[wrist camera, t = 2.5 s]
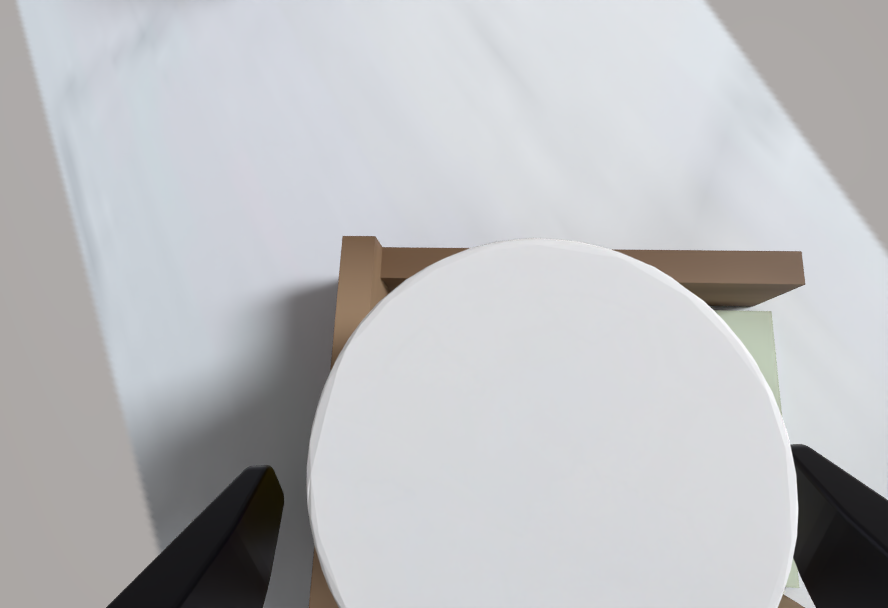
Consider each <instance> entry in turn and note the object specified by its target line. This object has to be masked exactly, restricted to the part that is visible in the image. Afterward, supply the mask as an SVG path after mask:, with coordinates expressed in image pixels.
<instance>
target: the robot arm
mask: <svg viewBox="0 0 888 608" xmlns="http://www.w3.org/2000/svg"><path fill="white" fill-rule="evenodd" d="M790 446H791V451H792V456H793V461H794V466H795V471H796V480H797V496H798V526H797V539H796V544H795V550H794V555H793V559H794V562H795V564H796V566H797V569H798V571H799V574H800V576H801V578H802V580H803V582H804V584H805V587H806V589H807V591H808V593H809V595H810V597H811V599H812V601H813V603H814V605H815V607H816V608H888V500H887V499H885V498H884V497H882V496H881V495H879V494H878V493H876V492H875V491H874V490H872V489H871V488H869V487H868V486H866V485H865V484H863V483H862V482H860V481H859V480H857V479H856V478H854V477H853V476H851V475H850V474H848V473H847V472H845V471H844V470H843V469H841V468H840V467H838V466H837V465H835V464H834V463H832V462H831V461H829V460H828V459H826V458H825V457H823V456H822V455H820V454H819V453H817V452H816V451H814V450H813V449H811V448H810V447H808V446H806V445H802V444H790ZM283 506H284V494H283V491H282V488H281V486H280V484H279V481H278V479H277V477H276V474H275V472H274V470H273V468H272V467H271V466H269V465H259V466H250V467H248V468H246V469H245V470H244V471H243V472H242V473H241V474H240V475H239V476H238V477H237V478H236V479H235V480H234V481H233V482H232V483H231V484H230V485H229V486H228V487H227V488H226V489H225V490H224V491H223V492H222V493H221V494H220V495H219V496H218V497H217V498H216V499H215V500H214V501H213V502H212V503H211V504H210V505H209V506H208V507H207V508H206V509H205V510H204V511H203V512H202V513H201V514H200V515H199V516H198V517H197V518H196V519H195V520H194V521H193V522H192V523H191V524H190V525H189V526H188V527H187V528H186V529H185V530H184V531H183V532H182V533H181V534H180V535H179V536H178V537H177V538H176V539H175V540H174V541H173V542H172V543H171V544H170V545H169V546H168V547H167V548H166V549H165V550H164V551H163V552H162V553H161V554H160V555H158V556H157V557H156V558H155V559H154V560H153V561H152V563H151V564H149V565H148V566H147V567H146V568H145V569H144V571H142V572H141V574H139V575H138V576H137V577H136V578H135V579H134V581H132V583H130V584H129V585H128V586H127V588H125V589H124V590H123V591H122V592H121V593H120V594H119V595H118V596H117V597H116V598H115V599H114V600H113V601H112V602H111V603H110V604H109V605H108V606H107V607H106V608H263V604H264V601H265V597H266V593H267V589H268V585H269V580H270V576H271V571H272V565H273V560H274V554H275V549H276V544H277V538H278V533H279V528H280V522H281V517H282V512H283Z"/></svg>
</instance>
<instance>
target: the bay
mask: <svg viewBox="0 0 888 608" xmlns="http://www.w3.org/2000/svg"><path fill="white" fill-rule="evenodd" d="M467 249H469V248H397V247H382V246H381V244H380V243H379V241H378V240H377V238H376V237H375V236H343V238H342V249H341V260H340V271H339V282H338V293H337V304H336V315H335V326H334V337H333V348H332V359H331V370H332V368H333V366H334V364H335V361H336V359H337V357H338V355H339V354H340V352H341V351H342V349H343V347H344V346H345V344H346V342H347V341H348V339H349V337H350V336H351V335H352V333H353V332H354V331H355V329H356V328H357V326H358V325H359V324H360V322H361V321H362V320H363V319H364V318H365V317H366V315H367V314H368V313H369V312H370V311H371V310H372V309H373V308H374V307H375V306H376V304H377V303H378V302H379V301H381V300H382V299H383V298H384V297H385V296H387V295H388V294H389V293H390V292H391V291H393V290H394V289H395V288H396V287H398V286H399V285H400V284H401V283H402V282H404V281H405V280H406V279H408V278H410V277H411V276H413V275H414V274H416V273H418V272H419V271H421V270H423V269H424V268H426V267H428V266H430V265H432V264H434V263H436V262H438V261H440V260H442V259H444V258H447V257H449V256H452V255H454V254H457V253H459V252H462V251H464V250H467ZM614 251H617V252H620V253H622V254H625V255H627V256H630V257H632V258H634V259H637V260H639V261H641V262H644V263H646V264H648V265H651V266H653V267H655V268H657V269H658V270H660V271H662V272H663V273H665V274H667V275H668V276H670V277H672V278H673V279H674V280H676V281H677V282H678V283H679V284H681V285H682V286H683V287H685V288H686V289H687V290H689V291H690V292H692V293H693V294H695V295H696V296H697V297H699V298H700V299H702V300H703V301H704V302H705V303H706V304H707V305H708V306H746V307H753V306H755V305H757V304H760V303H762V302H765V301H767V300H769V299H772V298H774V297H777V296H779V295H781V294H784V293H786V292H789V291H791V290H793V289H796V288H798V287H801V286H803V285H805V278H804V269H803V261H802V252H801V251H701V250H614ZM714 311H715V312H716V313H717V314H718V315H719V316H720V317H721V318H722V319H723V320H724V321H725V323H726V324H727V325H728V326H729V327H730V328H731V330H732V331H733V332H734V333H735V334H736V336H737V337H738V338H739V339H740V340H741V342H742V343H743V344H744V346H745V347H746V348H747V350H748V351H749V353H750V354H751V355H752V357H753V358H754V360H755V361H756V363H757V365H758V367H759V369H760V371H761V373H762V374H763V376H764V378H765V380H766V382H767V383H768V385H769V387H770V389H771V391H772V392H773V395H774V397H775V400H776V403H777V405H778V408H779V411H780V413H781V416H782V411H781V401H780V392H779V382H778V372H777V362H776V352H775V342H774V332H773V322H772V313H771V311H728V310H714ZM331 370H330V372H331ZM785 587H792V588H799V579H798V569H797V566H796V564H795V562H794V559H793V560H792V566H791V571H790V574H789V577H788V580H787V583H786V586H785ZM309 608H339V607H338V605H337V603H336V601H335V599H334V597H333V595H332V593H331V591H330V589H329V587H328V584H327V582H326V579H325V577H324V574H323V571H322V569H321V565H320V562H319V558H318V555H317V552H316V548H315V545H314V556H313V567H312V578H311V589H310V600H309ZM778 608H805V607H803V606H801V605H800V604H798V603H797V602H795V601H793V600H792V599H790V598H788V597H787V596H785V595H784V594H783V595H782V598H781V601H780V603H779V606H778Z"/></svg>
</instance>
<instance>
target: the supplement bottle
mask: <svg viewBox="0 0 888 608" xmlns="http://www.w3.org/2000/svg"><path fill="white" fill-rule="evenodd" d="M306 490H307V506H308V514H309V520H310V526H311V531H312V535H313V540H314V545H315V548H316V552H317V555H318V558H319V562H320V565H321V569H322V571H323V574H324V577H325V579H326V582H327V584H328V587H329V589H330V591H331V593H332V595H333V597H334V599H335V601H336V603H337V605H338V607H339V608H778V606H779V603H780V601H781V598H782V595H783V592H784V589H785V586H786V583H787V580H788V577H789V574H790V571H791V566H792V560H793V555H794V550H795V544H796V539H797V526H798V496H797V480H796V471H795V466H794V461H793V456H792V451H791V446H790V441H789V436H788V433H787V430H786V427H785V424H784V422H783V419H782V416H781V413H780V411H779V408H778V405H777V403H776V400H775V397H774V395H773V392H772V391H771V389H770V387H769V385H768V383H767V382H766V380H765V378H764V376H763V374H762V373H761V371H760V369H759V367H758V365H757V363H756V361H755V360H754V358H753V357H752V355H751V354H750V353H749V351H748V350H747V348H746V347H745V346H744V344H743V343H742V342H741V340H740V339H739V338H738V337H737V336H736V334H735V333H734V332H733V331H732V330H731V328H730V327H729V326H728V325H727V324H726V323H725V321H724V320H723V319H722V318H721V317H720V316H719V315H718V314H717V313H716V312H715V311H714V310H713V309H712V308H711V307H709V306H708V305H707V304H706V303H705V302H704V301H703V300H702V299H700V298H699V297H697V296H696V295H695V294H693V293H692V292H690V291H689V290H687V289H686V288H685V287H683V286H682V285H681V284H679V283H678V282H677V281H676V280H674V279H673V278H672V277H670V276H668V275H667V274H665V273H663V272H662V271H660V270H658V269H657V268H655V267H653V266H651V265H648V264H646V263H644V262H641V261H639V260H637V259H634V258H632V257H630V256H627V255H625V254H622V253H620V252H617V251H614V250H611V249H607V248H604V247H601V246H597V245H592V244H587V243H583V242H578V241H568V240H557V239H544V238H525V239H515V240H507V241H499V242H493V243H489V244H485V245H481V246H477V247H473V248H469V249H467V250H464V251H462V252H459V253H457V254H454V255H452V256H449V257H447V258H444V259H442V260H440V261H438V262H436V263H434V264H432V265H430V266H428V267H426V268H424V269H423V270H421V271H419V272H418V273H416V274H414V275H413V276H411V277H410V278H408V279H406V280H405V281H404V282H402V283H401V284H400V285H399V286H398V287H396V288H395V289H394V290H393V291H391V292H390V293H389V294H388V295H387V296H385V297H384V298H383V299H382V300H381V301H379V302H378V303H377V304H376V306H375V307H374V308H373V309H372V310H371V311H370V312H369V313H368V314H367V315H366V317H365V318H364V319H363V320H362V321H361V322H360V324H359V325H358V326H357V328H356V329H355V331H354V332H353V333H352V335H351V336H350V337H349V339H348V341H347V342H346V344H345V346H344V347H343V349H342V351H341V352H340V354H339V355H338V357H337V359H336V361H335V364H334V366H333V368H332V370H331V372H330V374H329V376H328V378H327V381H326V383H325V385H324V387H323V390H322V393H321V396H320V399H319V402H318V405H317V409H316V413H315V417H314V420H313V424H312V429H311V435H310V442H309V451H308V460H307V479H306Z"/></svg>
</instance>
